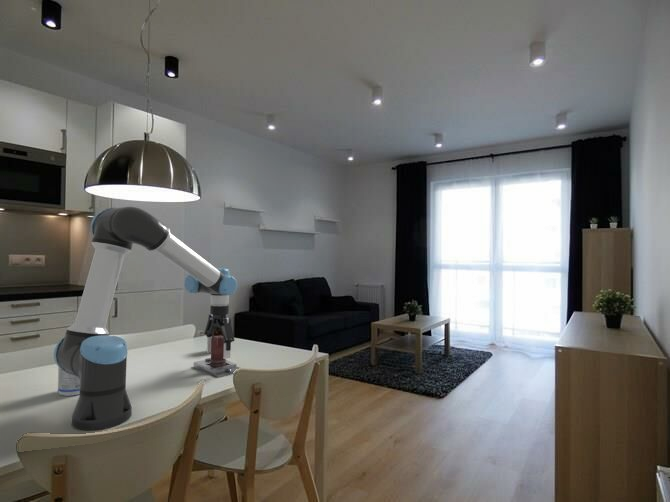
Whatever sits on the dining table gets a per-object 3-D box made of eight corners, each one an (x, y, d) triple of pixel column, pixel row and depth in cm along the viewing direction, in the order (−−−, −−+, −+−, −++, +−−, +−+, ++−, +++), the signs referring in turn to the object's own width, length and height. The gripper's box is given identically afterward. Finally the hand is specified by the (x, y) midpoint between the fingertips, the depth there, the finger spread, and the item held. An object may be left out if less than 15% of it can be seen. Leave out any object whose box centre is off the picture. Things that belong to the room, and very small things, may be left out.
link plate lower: (217, 377, 155) (217, 373, 155) (199, 369, 165) (199, 365, 165) (243, 371, 164) (243, 367, 164) (225, 364, 174) (225, 360, 174)
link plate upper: (210, 374, 159) (210, 368, 159) (193, 366, 169) (193, 360, 169) (236, 368, 167) (236, 362, 167) (218, 361, 177) (218, 355, 177)
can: (210, 371, 162) (210, 337, 163) (210, 367, 169) (211, 334, 169) (225, 370, 164) (226, 337, 164) (225, 366, 170) (226, 334, 170)
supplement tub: (68, 387, 141) (69, 346, 141) (95, 387, 141) (97, 346, 142) (51, 397, 131) (52, 353, 131) (81, 396, 132) (82, 352, 132)
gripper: (243, 307, 160) (242, 359, 160) (212, 301, 178) (211, 348, 177) (227, 308, 155) (226, 362, 155) (197, 302, 172) (195, 350, 172)
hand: (218, 355), depth 166 cm, fingers open, 13 cm apart
